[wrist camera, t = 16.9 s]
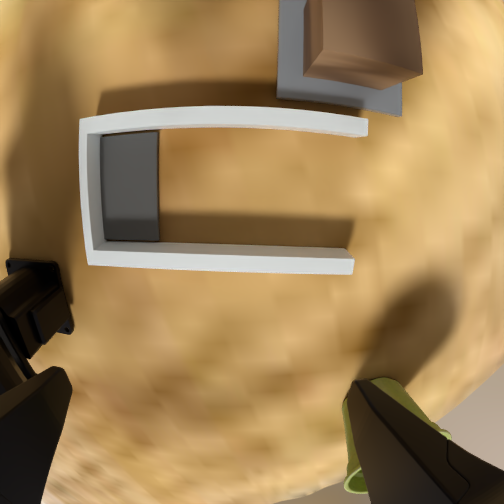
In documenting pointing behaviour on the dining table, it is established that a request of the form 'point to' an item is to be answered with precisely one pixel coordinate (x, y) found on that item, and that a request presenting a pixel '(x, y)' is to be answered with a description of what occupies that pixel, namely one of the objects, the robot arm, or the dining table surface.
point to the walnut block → (362, 42)
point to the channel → (146, 191)
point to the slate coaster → (321, 90)
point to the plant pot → (354, 473)
